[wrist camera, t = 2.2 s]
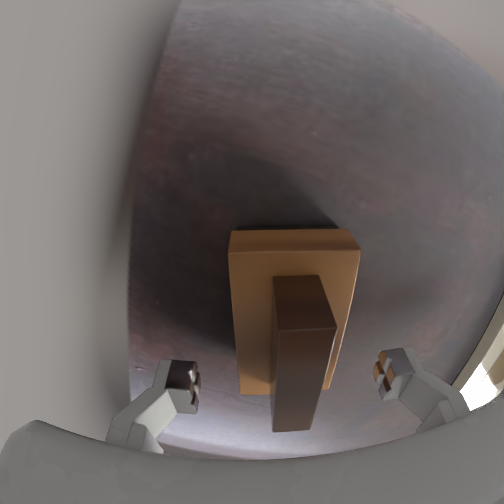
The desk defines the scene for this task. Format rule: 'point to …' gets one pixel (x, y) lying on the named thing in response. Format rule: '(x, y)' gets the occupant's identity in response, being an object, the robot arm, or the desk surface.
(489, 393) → the tile
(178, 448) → the desk surface
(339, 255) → the brush
